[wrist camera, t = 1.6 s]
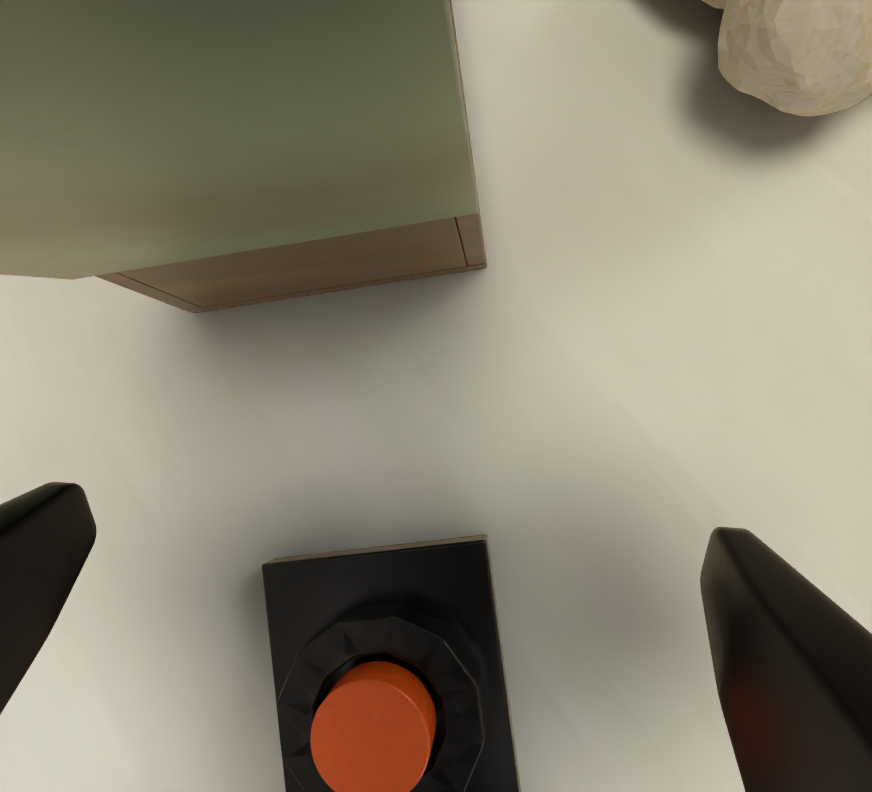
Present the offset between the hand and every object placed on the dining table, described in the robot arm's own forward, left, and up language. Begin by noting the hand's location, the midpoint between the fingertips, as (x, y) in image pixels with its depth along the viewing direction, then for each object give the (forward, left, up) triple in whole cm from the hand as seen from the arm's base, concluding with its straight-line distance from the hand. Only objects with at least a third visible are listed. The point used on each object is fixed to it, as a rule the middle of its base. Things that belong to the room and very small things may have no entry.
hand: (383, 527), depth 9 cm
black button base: (-8, -2, -15) cm, 17 cm away
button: (-8, -2, -12) cm, 14 cm away
